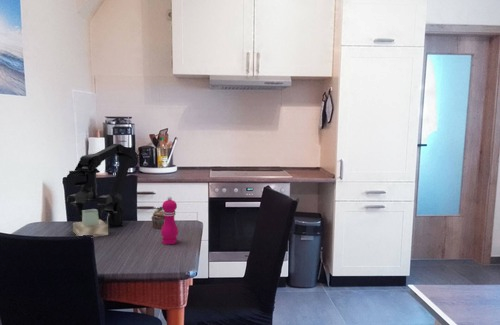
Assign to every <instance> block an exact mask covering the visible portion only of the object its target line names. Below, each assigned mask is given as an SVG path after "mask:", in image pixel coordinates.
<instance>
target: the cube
mask: <svg viewBox="0 0 500 325" xmlns="http://www.w3.org/2000/svg"><path fill="white" fill-rule="evenodd" d="M99 219H100V218H99V216H98V209H96V208H91V209H83V210H82V217H81V222H82V223H83V225H84V226H91V225H99Z"/></svg>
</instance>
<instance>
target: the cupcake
mask: <svg viewBox="0 0 500 325" xmlns="http://www.w3.org/2000/svg"><path fill="white" fill-rule="evenodd" d="M151 222H152V228H153V229H157V230H162V227H163V225H164V222H165V215H164V210H163V208H162V206H159V207H157V208H155V209H154V212H153V213H152V216H151Z"/></svg>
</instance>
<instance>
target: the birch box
mask: <svg viewBox="0 0 500 325" xmlns="http://www.w3.org/2000/svg"><path fill="white" fill-rule="evenodd" d="M73 232H74V233H75V234H76V235H75V234H74V233H73ZM72 233H73V234H74V235H75V236H76V237H77V236H83V235H93V236H94V237H93V238H97V237H103V236H108V235H109V226H108V224H107V222H104V220H102V219H101V218H99V225H91V226H84V225H83V223H82V221H75V222H73V223H72Z"/></svg>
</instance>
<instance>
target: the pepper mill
mask: <svg viewBox="0 0 500 325" xmlns="http://www.w3.org/2000/svg"><path fill="white" fill-rule="evenodd" d="M166 199H167V200H165V201H164V202H163V203H162V206H161V207H162V208H163V210H164V215H165V222H164V225H163V227H162V229H160V230H161V231H160V235H161V236H162V239H161V243H162V244H163V245H174V244H177V243H178V238H177V236H178V235H179V228H178V227H177V224H176V220H175V217H176V216H175V215H176V210H177V208H178V206H177V202H176V201H175V200H173V199H172V196H167V198H166Z"/></svg>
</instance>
